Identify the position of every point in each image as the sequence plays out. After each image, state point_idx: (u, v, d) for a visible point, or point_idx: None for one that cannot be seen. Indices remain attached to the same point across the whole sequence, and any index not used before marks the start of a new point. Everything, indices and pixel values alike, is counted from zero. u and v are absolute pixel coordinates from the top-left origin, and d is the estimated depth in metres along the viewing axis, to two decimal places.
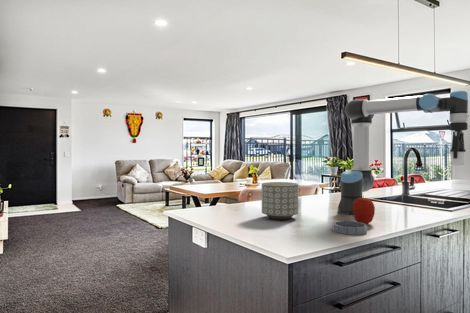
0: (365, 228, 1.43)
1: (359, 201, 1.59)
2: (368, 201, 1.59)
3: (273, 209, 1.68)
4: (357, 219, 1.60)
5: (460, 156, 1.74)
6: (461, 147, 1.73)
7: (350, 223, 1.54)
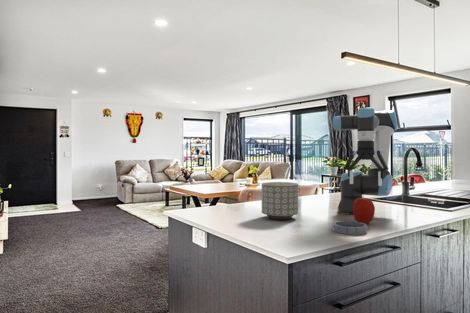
0: (365, 228, 1.43)
1: (359, 201, 1.59)
2: (368, 201, 1.59)
3: (273, 209, 1.68)
4: (357, 219, 1.60)
5: None
6: None
7: (350, 223, 1.54)
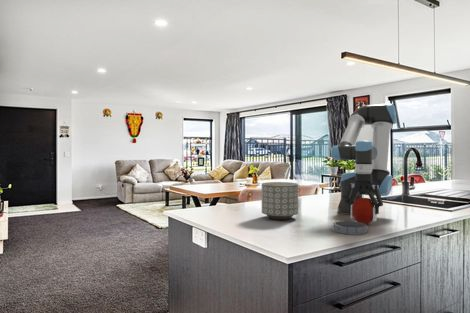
0: (365, 228, 1.43)
1: (359, 201, 1.59)
2: (368, 201, 1.59)
3: (273, 209, 1.68)
4: (357, 219, 1.60)
5: None
6: None
7: (350, 223, 1.54)
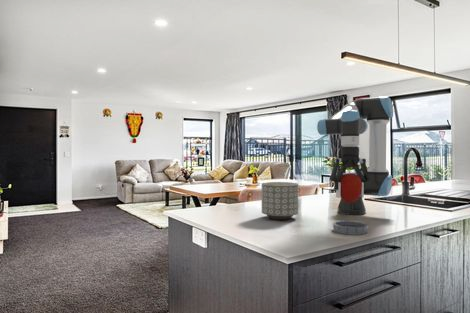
0: (365, 228, 1.43)
1: (353, 177, 1.44)
2: None
3: (273, 209, 1.68)
4: (351, 197, 1.44)
5: None
6: (360, 176, 1.48)
7: (350, 223, 1.54)
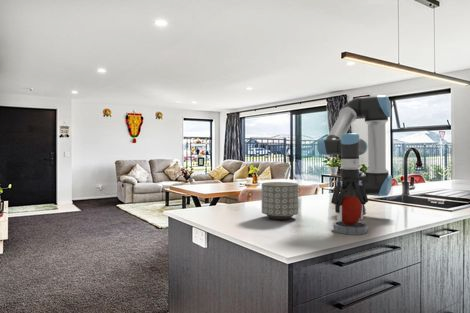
0: (365, 228, 1.43)
1: (355, 200, 1.44)
2: None
3: (273, 209, 1.68)
4: (352, 220, 1.44)
5: None
6: (359, 198, 1.49)
7: None
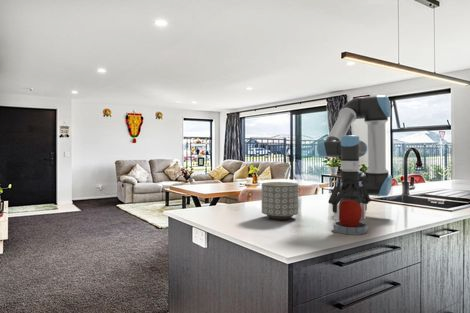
0: (365, 228, 1.43)
1: (354, 204, 1.44)
2: (357, 202, 1.48)
3: (273, 209, 1.68)
4: (352, 224, 1.44)
5: (362, 208, 1.50)
6: (361, 198, 1.49)
7: None
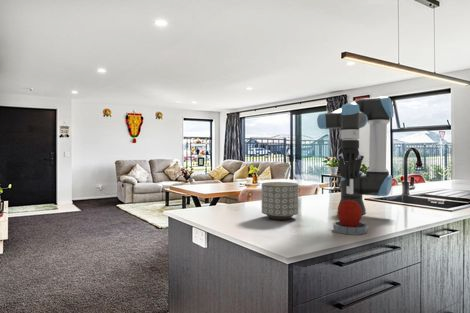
0: (365, 228, 1.43)
1: (354, 204, 1.44)
2: (358, 203, 1.47)
3: (273, 209, 1.68)
4: (352, 224, 1.44)
5: None
6: (352, 171, 1.48)
7: None
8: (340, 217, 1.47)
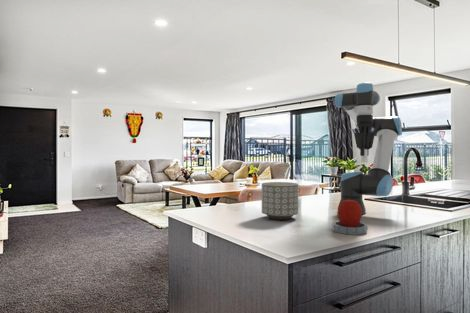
0: (365, 228, 1.43)
1: (354, 204, 1.44)
2: (358, 203, 1.47)
3: (273, 209, 1.68)
4: (352, 224, 1.44)
5: None
6: (366, 142, 1.67)
7: None
8: (340, 217, 1.47)
